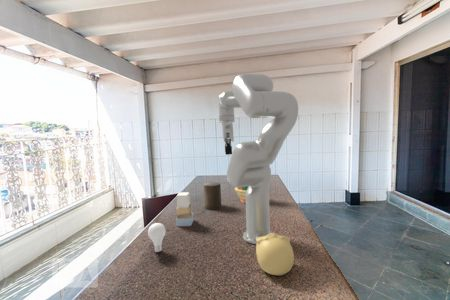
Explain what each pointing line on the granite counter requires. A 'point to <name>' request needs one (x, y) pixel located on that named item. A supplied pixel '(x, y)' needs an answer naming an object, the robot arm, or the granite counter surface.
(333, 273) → the granite counter surface
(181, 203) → the white block
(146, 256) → the granite counter surface
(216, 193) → the pillar candle
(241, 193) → the potted cactus
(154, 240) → the lightbulb
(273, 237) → the pale yellow rounded piece
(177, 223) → the tower base
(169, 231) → the granite counter surface
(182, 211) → the tower mid
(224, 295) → the granite counter surface
